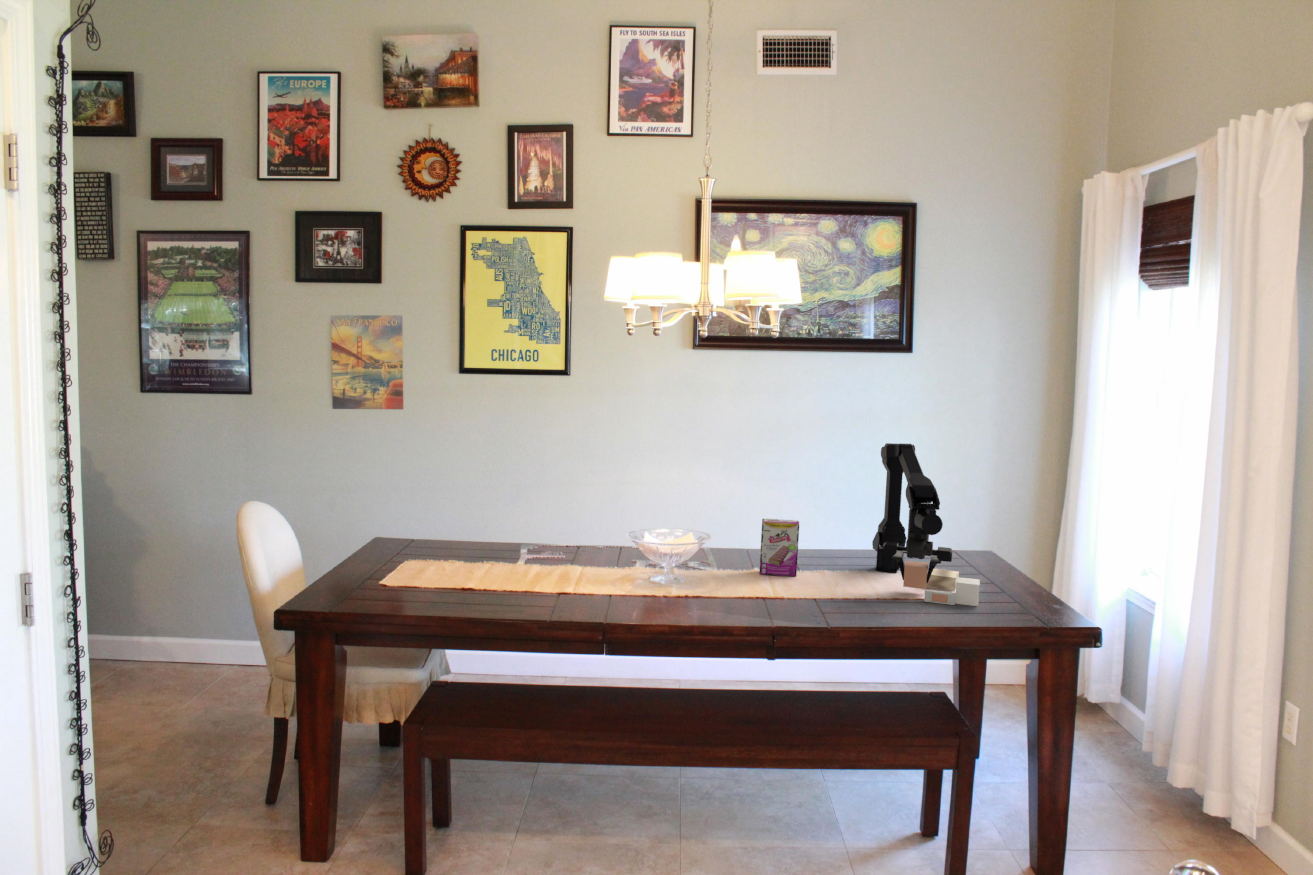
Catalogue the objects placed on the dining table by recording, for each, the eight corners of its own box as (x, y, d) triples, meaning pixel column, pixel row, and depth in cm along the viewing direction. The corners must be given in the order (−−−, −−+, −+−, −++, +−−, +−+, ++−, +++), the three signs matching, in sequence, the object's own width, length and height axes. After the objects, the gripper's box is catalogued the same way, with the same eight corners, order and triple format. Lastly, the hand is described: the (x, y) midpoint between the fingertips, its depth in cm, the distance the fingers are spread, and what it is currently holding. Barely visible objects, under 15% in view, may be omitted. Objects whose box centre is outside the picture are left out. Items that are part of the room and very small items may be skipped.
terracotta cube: (903, 586, 254) (904, 565, 253) (905, 581, 259) (906, 560, 258) (925, 589, 252) (926, 567, 251) (926, 583, 257) (928, 562, 256)
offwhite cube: (954, 603, 247) (956, 582, 247) (955, 597, 253) (956, 577, 252) (978, 606, 245) (979, 584, 245) (978, 600, 251) (979, 579, 250)
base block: (926, 587, 264) (927, 574, 263) (930, 580, 271) (931, 567, 270) (954, 591, 260) (955, 577, 260) (958, 584, 267) (959, 571, 267)
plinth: (924, 601, 248) (924, 590, 248) (924, 599, 250) (925, 589, 249) (954, 605, 245) (955, 594, 245) (954, 603, 247) (955, 592, 247)
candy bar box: (759, 575, 271) (761, 521, 269) (759, 570, 276) (761, 518, 274) (797, 577, 270) (799, 523, 268) (796, 572, 275) (798, 519, 273)
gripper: (881, 529, 249) (878, 584, 251) (952, 536, 243) (949, 592, 245) (885, 521, 259) (882, 574, 261) (954, 528, 253) (950, 582, 255)
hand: (915, 581), depth 255 cm, fingers closed on terracotta cube, 6 cm apart
